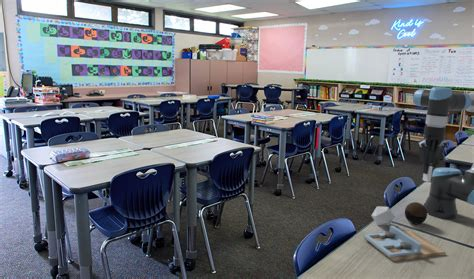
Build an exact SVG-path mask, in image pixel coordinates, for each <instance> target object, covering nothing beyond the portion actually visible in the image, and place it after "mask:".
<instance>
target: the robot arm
mask: <svg viewBox="0 0 474 279" xmlns="http://www.w3.org/2000/svg"><path fill="white" fill-rule="evenodd" d="M412 100H413V104H414V105H415V106H419V107H425V108H427V112H426V118H425V125H424V129H423V134H424V137H423V140H422V141H418V142H417V146H418V150H419V152H418V153H419V164H420V165H422V166H423V168H422V181H424V182H426V183H430V188H429V195H428V197H427V198H426V200H425V203H423V204H422V205H423V206H424V207H425V208H426V210H427V215H430V216H433V217H436V218H439V219H440V218H441V219H445V220H447V219H448V220H449V219H452V220H453V219H456V218H457V217H458V210H457V203H456V202H457V201H456V200H460V201H463V202H464V203H468V204H470V205H474V162H473V164H472V165H471V167H470V169H468V170H465V172H464V173H463V174H462V170H460V169H458V168H455V167H454V168H453V167H452V168H451V167H437V166H438V165H439V163H440V161H441V158H442V156H443V153H444V151H445V148H446V147H447V145H448V143H447V142H445V141H444V138H443V137H445V135H446V126H447V124H448V118H449V112H461V111H466V112H469V113H474V91H471V92H468V93H466V92H462V91H461V92H456V91H454V92H453V90H452V88H450V87H442V86H441V87H440V86H433V87H432V88H430V89H426V88H424V89H423V88H421V89H417V90H416V91H415V92H414V93H413V97H412Z"/></svg>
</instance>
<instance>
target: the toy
mask: <svg viewBox="0 0 474 279" xmlns="http://www.w3.org/2000/svg"><path fill="white" fill-rule="evenodd" d="M423 205H424V204H422V203H420V202H418V201H415V202H413V201H412V202H410V203H409V204H407V205H406V206H405V210H404V216H405V219H406V220H407V221H408V222H409V223H410V224H413V225H420V224H423V223H425V221H426V219H427V218H428V213H427V210H426V208H425V207H424V206H423Z"/></svg>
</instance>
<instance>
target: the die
mask: <svg viewBox="0 0 474 279" xmlns="http://www.w3.org/2000/svg"><path fill="white" fill-rule="evenodd" d="M371 217H372V219H373V221H374V222H375V224H376V226H378V227H380V226H382V227H390V226H391V223H392V222H393V220H394V219H395V218H396V217H395V215H394V213H393V212H392V210H391V208H390V207H389V206H376V208H375V209H374V211H373V212H372V214H371Z"/></svg>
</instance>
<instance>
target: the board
mask: <svg viewBox="0 0 474 279" xmlns="http://www.w3.org/2000/svg"><path fill="white" fill-rule="evenodd" d="M403 232H404V233H405V234H407V235H408V236H410V237H412V238H413V239H415V240H416V241H418V242H419V243H421V244H422V247H421V253H418V254H410V255H403V256H395V257H389V256H388V255H386V254H385V253H384V252H382V251H381V250H380V249H378V248H377V247H376V246H375V245H373V244H372V243H371V242H369V241H368V240H367V239H365V238H364V237H363V239H364V240H365V241H366V242H368V243H369V244H370V245H372V246H373V247H374V248H375V249H377V250H378V251H379V252H381V253H382V254H383V255H385V256H386V257H388V258H389V259H390V260H391V261H392V262H398V261H406V260H407V261H408V260H414V259H421V258H428V257H436V256H444V255H446V251H445V250H443V249H442V248H440V247H438V245H435V244H434V243H432V242H430V241H429V240H428V239H425V238H424V237H422V236H421V235H419V234H418V233H416V232H414V231H413V230H408V231H407V230H406V231H404V230H403ZM384 233H385V236H387V237H385V238H380V237H371V238H372V239H374V240H375V241H384V240H385V239H387V238H395V236H396V234H395V233H393V232H389V231H385V232H384ZM400 246H401V247H403V248H399V249H395V248H393V247H392V248H386V249H387V250H388V251H390V252H391V253H395V252H400V250H404V249H411V247H412V245H411V244H410V243H407V242H401V243H400Z"/></svg>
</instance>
